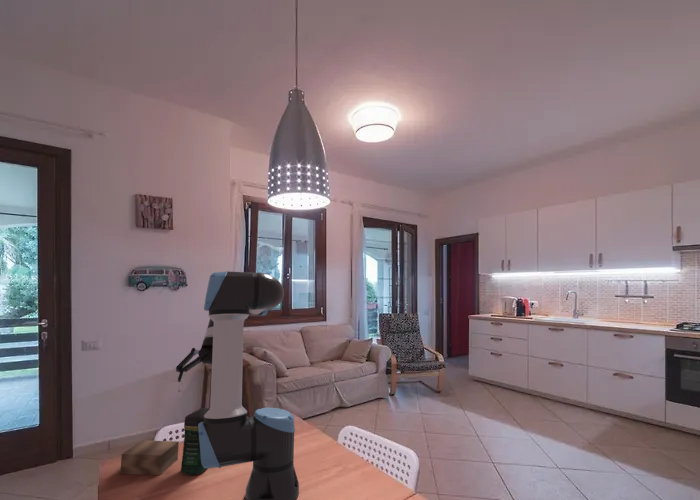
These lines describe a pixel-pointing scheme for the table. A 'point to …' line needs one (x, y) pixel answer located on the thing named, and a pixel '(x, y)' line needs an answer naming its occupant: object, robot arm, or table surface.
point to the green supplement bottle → (192, 443)
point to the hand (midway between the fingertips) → (199, 393)
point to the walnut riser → (149, 457)
